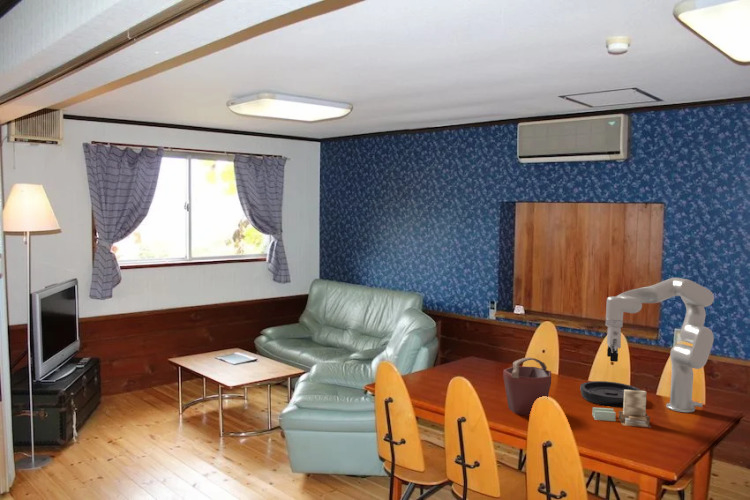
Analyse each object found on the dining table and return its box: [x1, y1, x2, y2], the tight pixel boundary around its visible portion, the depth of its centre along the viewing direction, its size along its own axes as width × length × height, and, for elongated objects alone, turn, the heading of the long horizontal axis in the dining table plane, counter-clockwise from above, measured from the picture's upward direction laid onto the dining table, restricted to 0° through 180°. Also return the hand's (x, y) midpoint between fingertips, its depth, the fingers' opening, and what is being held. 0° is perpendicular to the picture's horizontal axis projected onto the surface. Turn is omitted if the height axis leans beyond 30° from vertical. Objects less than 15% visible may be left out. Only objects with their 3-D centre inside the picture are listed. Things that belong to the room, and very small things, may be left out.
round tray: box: [579, 380, 642, 408], centre depth 320 cm, size 30×6×30 cm
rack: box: [617, 410, 652, 428], centre depth 282 cm, size 12×10×4 cm
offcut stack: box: [625, 416, 649, 428], centre depth 279 cm, size 9×3×3 cm, turn 80°
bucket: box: [502, 357, 552, 417], centre depth 299 cm, size 24×22×25 cm
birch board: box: [622, 390, 648, 416], centre depth 283 cm, size 9×2×14 cm, turn 80°
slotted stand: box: [591, 406, 617, 422], centre depth 288 cm, size 9×8×4 cm
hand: (612, 358), depth 296 cm, fingers open, 9 cm apart
